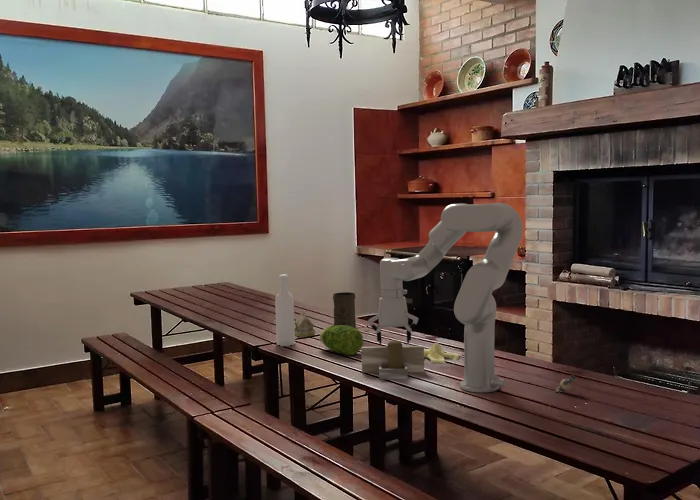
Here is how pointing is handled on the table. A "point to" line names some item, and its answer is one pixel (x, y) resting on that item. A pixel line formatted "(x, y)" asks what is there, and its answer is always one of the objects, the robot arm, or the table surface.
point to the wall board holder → (378, 361)
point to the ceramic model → (304, 326)
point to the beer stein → (344, 309)
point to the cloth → (439, 354)
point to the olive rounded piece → (395, 355)
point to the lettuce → (342, 339)
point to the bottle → (284, 314)
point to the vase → (566, 383)
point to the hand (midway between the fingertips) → (394, 342)
